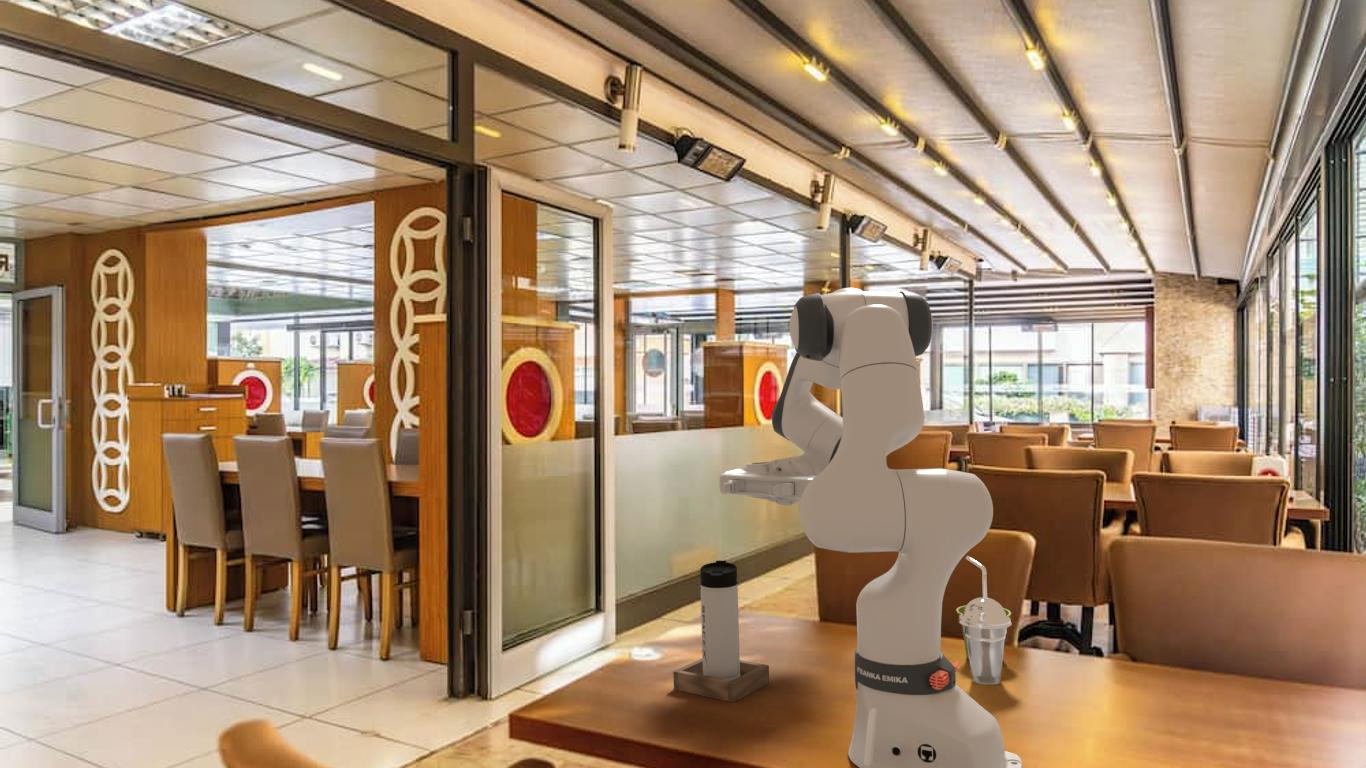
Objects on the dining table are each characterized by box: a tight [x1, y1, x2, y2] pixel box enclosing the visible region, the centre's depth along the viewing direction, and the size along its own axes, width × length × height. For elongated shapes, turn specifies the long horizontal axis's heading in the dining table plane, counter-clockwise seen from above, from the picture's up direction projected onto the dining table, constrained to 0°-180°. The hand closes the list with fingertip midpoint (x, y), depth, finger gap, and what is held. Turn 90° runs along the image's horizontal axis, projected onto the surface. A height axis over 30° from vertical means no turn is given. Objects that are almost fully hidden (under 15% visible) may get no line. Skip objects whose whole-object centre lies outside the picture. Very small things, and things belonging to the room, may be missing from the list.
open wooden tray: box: [672, 658, 770, 703], centre depth 157 cm, size 12×11×3 cm
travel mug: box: [699, 560, 741, 681], centre depth 157 cm, size 6×7×20 cm
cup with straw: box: [958, 555, 1013, 685], centre depth 156 cm, size 8×9×20 cm
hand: (748, 489), depth 165 cm, fingers open, 8 cm apart
